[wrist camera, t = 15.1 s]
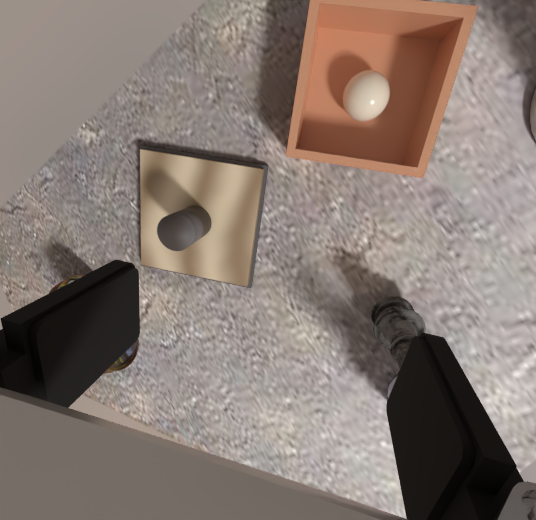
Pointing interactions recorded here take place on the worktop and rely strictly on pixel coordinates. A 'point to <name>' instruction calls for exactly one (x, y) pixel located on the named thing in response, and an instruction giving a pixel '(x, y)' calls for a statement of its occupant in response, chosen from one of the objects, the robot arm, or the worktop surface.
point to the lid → (198, 215)
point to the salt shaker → (396, 326)
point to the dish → (376, 81)
